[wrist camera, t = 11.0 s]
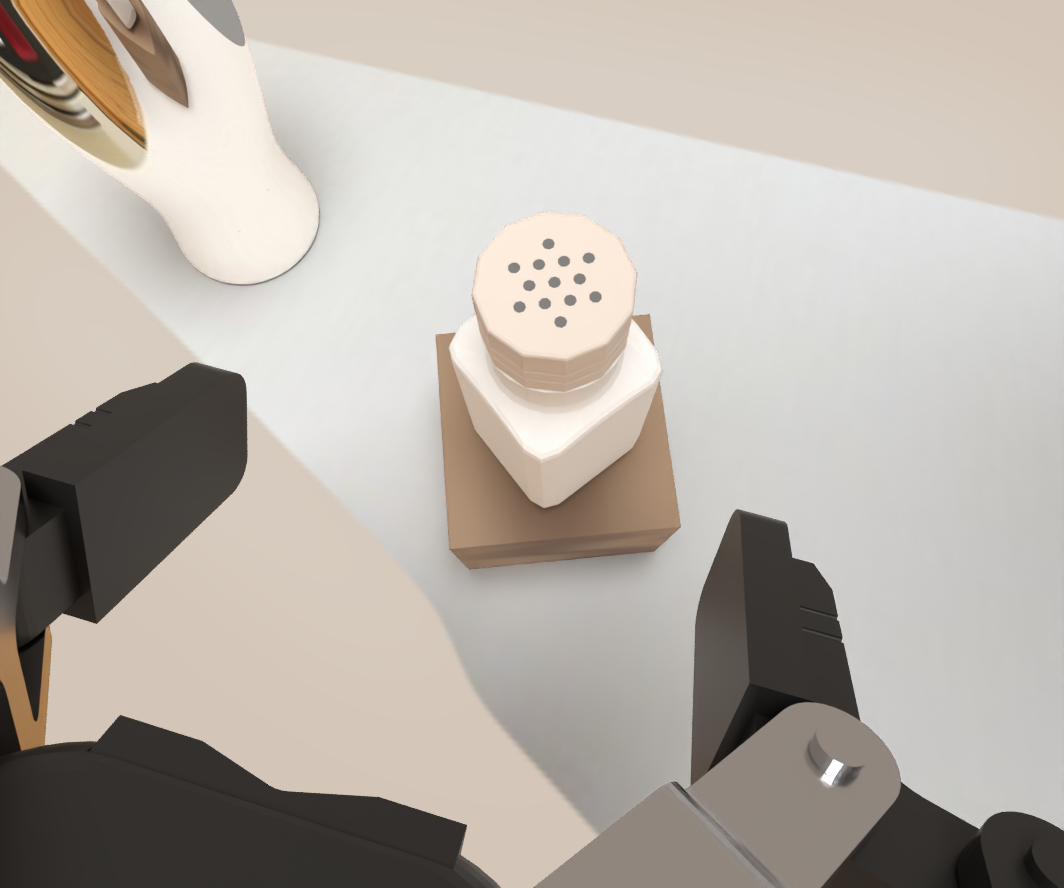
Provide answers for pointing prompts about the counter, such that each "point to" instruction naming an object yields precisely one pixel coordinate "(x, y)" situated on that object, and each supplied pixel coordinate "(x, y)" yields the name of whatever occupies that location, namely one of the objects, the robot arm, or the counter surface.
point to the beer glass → (167, 121)
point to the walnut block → (561, 530)
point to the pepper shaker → (555, 354)
